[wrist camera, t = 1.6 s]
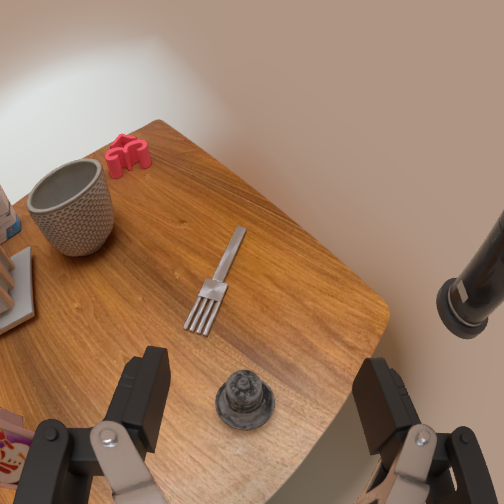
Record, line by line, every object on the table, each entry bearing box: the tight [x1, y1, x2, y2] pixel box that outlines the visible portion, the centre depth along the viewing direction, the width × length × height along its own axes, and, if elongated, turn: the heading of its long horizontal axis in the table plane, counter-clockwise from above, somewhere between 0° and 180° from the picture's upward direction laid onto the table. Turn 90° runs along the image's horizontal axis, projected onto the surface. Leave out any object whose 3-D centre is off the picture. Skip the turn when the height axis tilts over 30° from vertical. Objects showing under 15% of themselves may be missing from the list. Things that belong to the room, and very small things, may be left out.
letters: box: [105, 134, 151, 179], centre depth 61 cm, size 14×10×5 cm
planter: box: [27, 159, 114, 256], centre depth 39 cm, size 14×14×13 cm
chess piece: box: [215, 370, 275, 430], centre depth 23 cm, size 6×6×12 cm
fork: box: [183, 226, 247, 337], centre depth 40 cm, size 19×3×1 cm, turn 163°
